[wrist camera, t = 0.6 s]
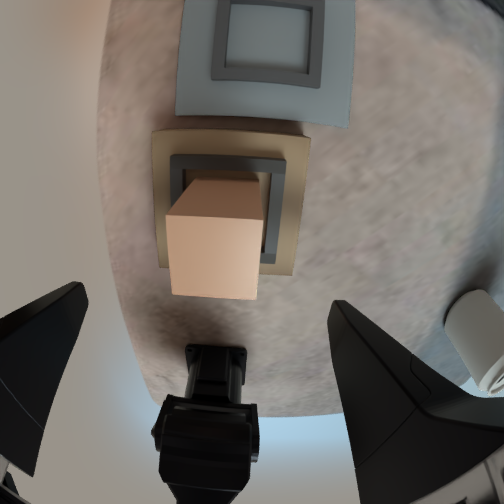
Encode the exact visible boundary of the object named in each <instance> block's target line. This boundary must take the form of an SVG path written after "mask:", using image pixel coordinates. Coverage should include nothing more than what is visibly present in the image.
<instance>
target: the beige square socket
mask: <svg viewBox="0 0 504 504" xmlns="http://www.w3.org/2000/svg"><path fill="white" fill-rule="evenodd" d="M310 142H311V138H309V137H307V136H304V135H297V134H288V133H278V132H266V131H252V130H233V129H163V130H158V131H154V132H152V171H153V195H154V212H155V226H156V238H157V248H158V258H159V267H160V268H169V257H168V245H167V231H166V214H167V213H168V211H169V210H170V209H171V208H172V206H173V205H174V204H175V203H176V201H177V200H178V199H179V198H180V196H181V195H182V194H183V193H184V191H185V190H186V189H187V188H188V186H189V185H190V184H191V183H192V182H193V180H194V179H195V178H196V177H218V178H239V179H256V180H259V183H260V193H261V202H262V211H263V230H262V241H261V252H260V263H259V274H267V275H287V276H292V273H293V267H294V261H295V254H296V248H297V241H298V235H299V228H300V221H301V214H302V207H303V200H304V192H305V184H306V176H307V168H308V160H309V151H310Z"/></svg>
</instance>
